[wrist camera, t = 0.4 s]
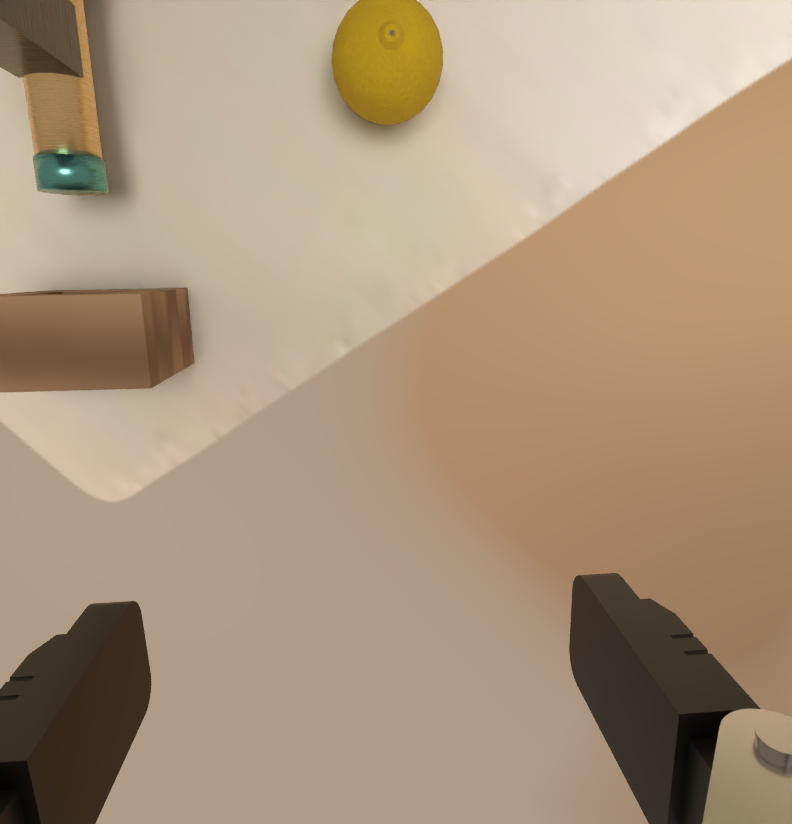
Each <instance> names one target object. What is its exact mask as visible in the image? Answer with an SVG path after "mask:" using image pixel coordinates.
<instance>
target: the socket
mask: <svg viewBox="0 0 792 824" xmlns="http://www.w3.org/2000/svg"><path fill="white" fill-rule="evenodd" d="M193 363H194V356H193V345H192V335H191V324H190V314H189V304H188V293H187V288H165V289H111V290H56V291H37V292H24V293H11V294H0V392H33V391H68V390H103V389H138V388H152V387H154V386H156V385H157V384H159V383H161V382H162V381H164V380H166V379H168V378H169V377H171V376H173V375H174V374H176V373H178V372H179V371H181V370H183V369H184V368H186V367H188V366H190V365H191V364H193Z"/></svg>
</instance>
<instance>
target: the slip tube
mask: <svg viewBox="0 0 792 824" xmlns="http://www.w3.org/2000/svg"><path fill="white" fill-rule="evenodd" d="M0 67H1V68H3V69H4V70H6V71H8V72H10V73H12V74H13V75H15V76H17V77H23V79H24V86H25V93H26V100H27V106H28V113H29V120H30V127H31V133H32V140H33V147H34V154H35V156H33V163H34V170H35V176H36V183H37V190H38V191H41V192H45V193H53V194H65V195H102V194H108V193H109V190H108V181H107V173H106V165H105V161H104V160H103V158H102V150H101V142H100V134H99V126H98V117H97V109H96V101H95V93H94V85H93V77H92V69H91V60H90V52H89V44H88V36H87V28H86V20H85V12H84V4H83V0H0Z"/></svg>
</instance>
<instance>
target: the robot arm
mask: <svg viewBox="0 0 792 824" xmlns="http://www.w3.org/2000/svg"><path fill="white" fill-rule="evenodd" d="M569 651H570V661H571V667H572V671H573V675H574V678H575V681H576V683H577V686H578V687H579V689H580V691H581V693H582V695H583V697H584V699H585V701H586V703H587V705H588V707H589V709H590V711H591V713H592V714H593V717H594V718H595V720H596V722H597V724H598V726H599V728H600V730H601V732H602V734H603V736H604V738H605V740H606V742H607V744H608V745H609V747H610V749H611V751H612V753H613V755H614V757H615V759H616V761H617V763H618V765H619V767H620V769H621V770H622V773H623V774H624V776H625V778H626V780H627V782H628V784H629V786H630V788H631V790H632V792H633V794H634V796H635V798H636V800H637V801H638V803H639V805H640V807H641V809H642V811H643V813H644V815H645V817H646V819H647V821H648V823H649V824H792V718H791V717H788V716H785V715H783V714H779V713H776V712H773V711H768V710H762V709H760V708H759V707H758V706H757V704H755V702H754V701H753V700H752V699H751V698H750V697H749V696H748V694H746V692H745V691H744V690H743V689H742V688H741V687H740V686H739V684H738V683H737V682H736V681H735V680H734V679H733V678H732V677H731V675H730V674H729V673H728V672H727V671H726V670H725V669H724V668H723V666H722V665H721V664H720V663H719V662H718V661H717V660H716V659H715V658H714V656H713V655H712V654H708V652H707V649H706V647H705V646H704V645H703V644H702V643H701V642H700V641H699V640H698V639H697V638H696V637H693V633H692V632H691V631H690V630H689V629H688V627H687V626H686V625H684V623H683V622H682V621H681V620H680V618H679V617H678V616H677V615H676V614H675V613H673V612H671V611H670V610H668V609H666V608H664V607H663V606H661V605H660V604H658V603H656V602H655V601H653V600H651V599H639V597H638V596H637V595H636V594H635V593H634V591H633V590H632V589H631V588H630V587H629V585H628V584H627V583H626V582H625V581H624V579H623V578H622V577H621V576H620V575H619V574H617V573H611V574H594V575H579V576H576V577H575V579H574V582H573V589H572V608H571V627H570V649H569ZM150 693H151V673H150V666H149V660H148V653H147V647H146V640H145V634H144V628H143V621H142V615H141V610H140V607H139V605H138V604H137V602H134V601H130V602H113V603H96V604H90V605H89V606H88V607H87V608H86V609H85V610H84V612H83V613H82V614H81V616H80V617H79V618H78V620H77V621H76V622H75V623H74V625H73V626H72V627H71V629H70V630H69V631H68V633H67V634H62V635H56V636H54V637H53V638H51V639H50V640H49V641H47V642H46V643H44V644H43V645H42V646H40V647H39V648H37V649H36V650H35V651H33V652H32V653H30V654H29V655H28V656H27V657H26V658H25V660H24V661H23V662H22V663H21V665H20V666H19V667H18V668H17V669H16V671H15V672H14V673H13V674H12V676H11V677H10V681H9V682H6V683H5V684H4V685H3V687H2V688H1V689H0V824H95V823H96V821H97V819H98V816H99V814H100V812H101V810H102V808H103V806H104V803H105V801H106V799H107V797H108V795H109V792H110V790H111V788H112V786H113V784H114V782H115V779H116V777H117V775H118V773H119V771H120V768H121V766H122V764H123V762H124V760H125V757H126V755H127V753H128V751H129V749H130V747H131V744H132V742H133V740H134V738H135V736H136V734H137V731H138V729H139V727H140V725H141V722H142V720H143V718H144V716H145V714H146V711H147V708H148V704H149V699H150Z"/></svg>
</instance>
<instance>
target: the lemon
mask: <svg viewBox="0 0 792 824" xmlns="http://www.w3.org/2000/svg"><path fill="white" fill-rule="evenodd" d="M442 66H443V49H442V44H441V39H440V35H439V31H438V29H437V27H436V25H435V23H434V21H433V19H432V17H431V15H430V14H429V13H428V11H427V10H426V9H425V8H424V7H423V5H422V4H421V3H419V2H418V1H416V0H359V1H358V2H357V3H356V4H355V5H354V6H353V7H352V8H351V9H350V10H348V12H347V13H346V15H345V16H344V18H343V20H342V21H341V23H340V25H339V27H338V30H337V33H336V36H335V39H334V43H333V52H332V67H333V73H334V79H335V82H336V85H337V87H338V90H339V92H340V94H341V96H342V98H343V99H344V100H345V102H346V103H347V105H348V106H349V107H350V108H351V109H352V110H353V111H354V112H355V113H356V114H358V115H359V116H360V117H362V118H364V119H366V120H368V121H370V122H372V123H377V124H382V125H390V124H398V123H401V122H404V121H406V120H409V119H411V118H412V117H414V116H415V115H416V114H418V113H419V112H421V111H422V110H423V108H424V107H425V106H426V105H427V104H428V102H429V101H430V100H431V99H432V97H433V95H434V93H435V91H436V88H437V86H438V84H439V80H440V76H441V71H442Z"/></svg>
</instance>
